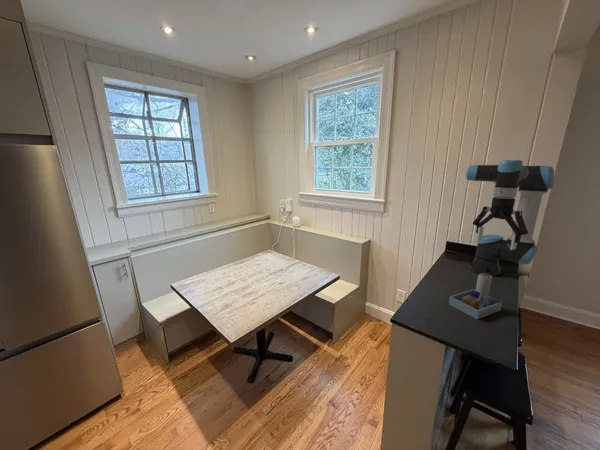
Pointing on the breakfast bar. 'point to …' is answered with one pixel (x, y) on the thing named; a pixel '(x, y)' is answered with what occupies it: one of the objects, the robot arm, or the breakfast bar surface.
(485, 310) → the tote
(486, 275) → the beverage can
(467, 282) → the breakfast bar surface
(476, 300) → the walnut cube
